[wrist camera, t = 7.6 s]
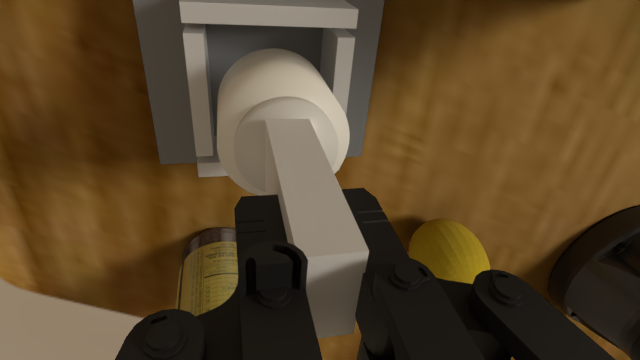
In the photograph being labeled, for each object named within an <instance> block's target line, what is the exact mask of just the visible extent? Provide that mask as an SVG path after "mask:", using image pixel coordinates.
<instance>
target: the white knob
mask: <svg viewBox="0 0 640 360" xmlns="http://www.w3.org/2000/svg"><path fill="white" fill-rule="evenodd" d="M266 119H310V122H311V124H312V126H313V128H314V130H315V133H316V135H317V137H318V139H319V141H320V144H321V146H322V148H323V150H324V152H325V155H326V157H327V159H328V161H329V163H330V166H331V168H332V170H333V172H334V174H335V173H336V172H337V170H338V169H339V168H340V166H341V164H342V163H343V161H344V159H345V156H346V154H347V151H348V146H349V138H350V133H349V125H348V121H347V118H346V115H345V113H344V111H343V109H342V108H341V106H340V104H339V103H338V101H337V100H336V98H335V97H334V95H333V94H332V92H331V90H330V89H329V87H328V86H327V84H326V83H325V81H324V80H323V78H322V77H321V75H320V74H319V72H318V71H317V69H316V68H315V67H314V66H313V65H312V64H311V63H310V62H309V61H308V60H307V59H305V58H304V57H302V56H301V55H299V54H297V53H294V52H292V51H289V50H284V49H277V48H270V49H262V50H257V51H254V52H251V53H249V54H247V55H245V56H243V57H242V58H240V59H239V60H238V61H236V62H235V63H234V64H233V65H232V66H231V67H230V68H229V70H228V71H227V72H226V74H225V76H224V77H223V79H222V82H221V84H220V87H219V91H218V102H217V151H218V156H219V159H220V162H221V164H222V166H223V168H224V170H225V171H226V173H227V174H228V176H229V177H230V178H231V179H232V180H233V181H234V182H235V183H236V184H237V185H239V186H240V187H242V188H243V189H245V190H246V191H248V192H251V193H253V194H256V195H258V196H261V195H267V193H266V187H265V120H266Z"/></svg>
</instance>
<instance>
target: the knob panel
mask: <svg viewBox="0 0 640 360" xmlns="http://www.w3.org/2000/svg"><path fill="white" fill-rule="evenodd" d="M384 2H385V0H133V6H134V12H135V18H136V24H137V30H138V36H139V41H140V47H141V53H142V59H143V65H144V71H145V77H146V83H147V88H148V94H149V100H150V106H151V112H152V118H153V124H154V130H155V135H156V141H157V147H158V153H159V159H160V164H181V163H197V167H198V176H199V177H213V176H228V174H227V173H226V171H225V170H224V168H223V166H222V164H221V162H220V159H219V156H218V151H217V102H218V91H219V87H220V84H221V82H222V79H223V77H224V76H225V74H226V72H227V71H228V70H229V68H230V67H231V66H232V65H233V64H234V63H235V62H236V61H238V60H239V59H240V58H242V57H243V56H245V55H247V54H249V53H251V52H254V51H257V50H262V49H270V48H277V49H284V50H289V51H292V52H294V53H297V54H299V55H301V56H302V57H304V58H305V59H307V60H308V61H309V62H310V63H311V64H312V65H313V66H314V67H315V68H316V69H317V71H318V72H319V74H320V75H321V77H322V78H323V80H324V81H325V83H326V84H327V86H328V87H329V89H330V90H331V92H332V94H333V95H334V97H335V98H336V100H337V101H338V103H339V104H340V106H341V108H342V109H343V111H344V113H345V115H346V118H347V121H348V125H349V133H350V138H349V146H348V151H347V154H346V156H345V157H354V156H361V155H362V148H363V141H364V135H365V128H366V121H367V115H368V108H369V101H370V95H371V88H372V81H373V75H374V68H375V62H376V55H377V48H378V42H379V35H380V28H381V22H382V15H383V8H384ZM338 170H340V168H339V169H338ZM338 170H337V171H338Z"/></svg>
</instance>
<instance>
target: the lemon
mask: <svg viewBox="0 0 640 360" xmlns="http://www.w3.org/2000/svg"><path fill="white" fill-rule="evenodd" d="M409 258H412V259H415V260H417V261H419V262H421V263H422V264H424V265H425V266H427V267H428V268H429V269H430V271H431V272H432V273H433V274H434V275H435V277H436V278H440V279H444V280H450V281H456V282H463V283H470V284H473V281H474V279H475V277H476V275H478V274H479V273H480V272H482V271H485V270H490V264H489V261H488V258H487V255H486V253H485V250H484V248H483V246H482V244H481V243H480V241H479V240H478V239H477V238H476V236H475V235H474V234H473V233H472V232H471V231H470V230H469V229H468V228H466V227H465V226H463V225H462V224H460V223H458V222H455V221H453V220H449V219H434V220H430V221H428V222H426V223H424V224H422V225H421V226H420V227H419V228H418V229H417V230H416V231H415V232H414V234H413V235H412V238H411V240H410V243H409Z"/></svg>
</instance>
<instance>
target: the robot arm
mask: <svg viewBox="0 0 640 360" xmlns="http://www.w3.org/2000/svg"><path fill="white" fill-rule="evenodd" d="M265 187H266V193H267V195H261V196H245V197H241V199H240V200H239V202H238V204H237V205H236V207H235V227H236V245H237V263H238V284H237V286H236V289H235V291H234V293H233V294H232V295H231V296H230V298H229V299H228V300H226V301H225V302H224V303H223V304H221V305H220V306H218V307H216V308H214V309H212V310H210V311H207V312H205V313H203V314H200V315H198V316H194V315H193V314H192V313H190V312H188V311H184V310H180V309H169V310H161V311H159V312H156V313H154V314H151V315H149V316H147V317H146V318H144V319H143V320H142V321H140V322H139V323H138V324H136V325H135V326H134V327H133V329H132V330H131V332H130V333H129V334H128V336H127V337H126V339H125V341H124V343H123V345H122V347H121V349H120V351H119V353H118V355H117V357H116V359H115V360H322V356H321V352H320V348H319V343H318V338H325V337H332V336H339V335H345V334H352V333H353V332H354V327H355V322H356V320H357V323H358V326H359V329H360V332H361V335H362V337H361V341H360V346H359V351H358V355H357V360H511V357H513V358H514V359H515V360H615V359H614V358H613V357H612V356H611V355H610V354H608V353H607V352H606V351H605V350H604V349H603V348H601V347H600V346H599V345H598V344H597V343H596V342H594V341H593V340H592V339H591V338H590V337H589V336H587V335H586V334H585V333H584V332H583V331H582V330H581V329H579V328H578V327H577V326H576V325H575V324H574V323H572V322H571V321H570V320H569V319H568V318H567V317H565V316H564V315H563V314H562V313H561V312H560V311H558V310H557V309H556V308H555V307H554V306H553V305H552V304H550V303H549V302H548V301H547V300H546V299H545V298H543V297H542V296H541V295H540V294H539V293H538V292H536V291H535V290H534V289H533V288H532V287H531V286H529V285H528V284H527V283H526V282H524V281H523V280H521V279H520V278H518V277H517V276H515V275H512V274H510V273H507V272H505V271H500V270H493V269H492V270H485V271H482V272H480V273H479V274H478V275H476V277H475V279H474V281H473V284H470V283H463V282H456V281H450V280H444V279H440V278H436V277H435V275H434V274H433V273H432V272H431V271H430V269H429V268H428V267H427V266H425V265H424V264H422V263H421V262H419V261H417V260H415V259H412V258H409V256H408V254H407V252H406V251H405V249H404V247H403V245H402V243H401V242H400V240H399V238H398V236H397V235H396V233H395V231H394V229H393V227H392V226H391V224H390V222H388V219H387V217H386V215H385V213H384V212H382V208H381V206H380V204H379V203H378V201H377V199H376V198H375V197H374V196H373V195H372V194H370V193H369V192H368V191H367V190H365V189H364V188H355V189H341V188H340V186H339V183H338V181H337V179H336V177H335V174H334V172H333V170H332V168H331V166H330V163H329V161H328V159H327V157H326V155H325V152H324V150H323V148H322V146H321V144H320V141H319V139H318V137H317V135H316V133H315V130H314V128H313V126H312V124H311V122H310V119H266V120H265ZM549 292H550V295H551V297H552V298H553V300H554V301H555V302H556V303H557V304H558V305H559V306H560V308H561V309H562V310H563V311H564V312H565V313H566V314H567V315H568V316H569V317H571V318H572V319H574V320H576V321H578V322H580V323H581V324H583V325H584V326H585V327H587V328H588V329H590V330H591V331H593V332H594V333H596V334H597V335H599V336H600V337H602V338H603V339H605V340H607V341H608V342H610V343H611V344H613V345H614V346H616V347H617V348H619V349H621V350H622V351H623V352H625V353H626V354H627V355H628V356H629V357H630V358H631V359H632V360H640V206H638V207H634V208H631V209H628V210H625V211H623V212H620V213H618V214H616V215H614V216H612V217H610V218H608V219H606V220H604V221H603V222H601V223H599V224H598V225H596V226H595V227H593V228H592V229H590V230H589V231H588V232H586V233H585V234H584V235H583V236H581V237H580V238H579V239H578V240H577V241H576V242H575V243H574V244H573V245H572V246H571V247H570V248H569V249H568V250H567V251H566V252H565V253H564V255H563V256H562V257H561V259H560V260H559V261H558V263H557V265H556V266H555V268H554V270H553V272H552V275H551V278H550V281H549Z"/></svg>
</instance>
